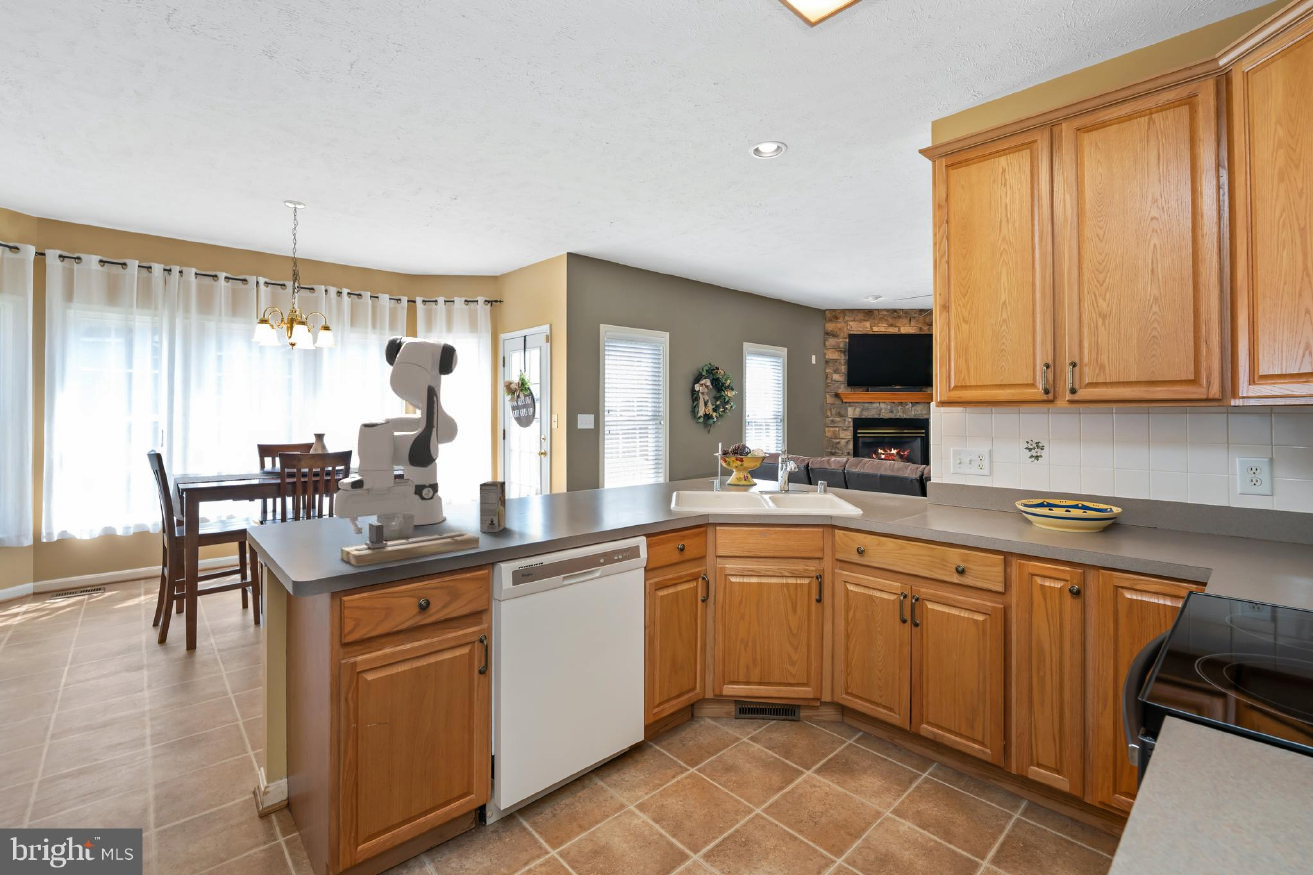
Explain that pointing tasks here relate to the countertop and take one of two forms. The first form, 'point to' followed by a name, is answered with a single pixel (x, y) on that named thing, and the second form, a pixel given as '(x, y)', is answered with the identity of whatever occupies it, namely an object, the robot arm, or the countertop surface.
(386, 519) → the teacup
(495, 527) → the coffee box
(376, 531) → the fader tab
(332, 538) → the countertop surface
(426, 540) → the board
